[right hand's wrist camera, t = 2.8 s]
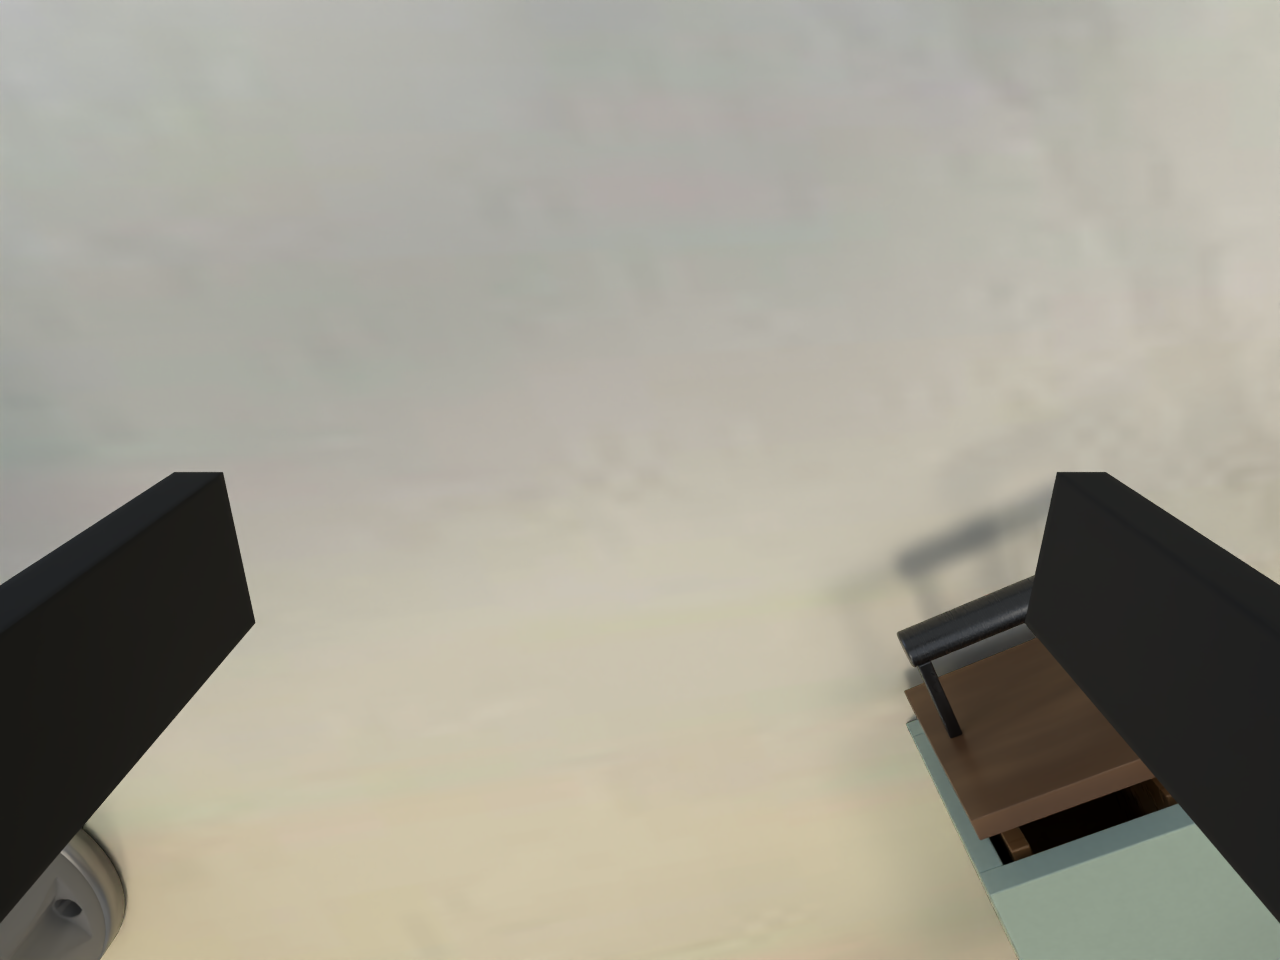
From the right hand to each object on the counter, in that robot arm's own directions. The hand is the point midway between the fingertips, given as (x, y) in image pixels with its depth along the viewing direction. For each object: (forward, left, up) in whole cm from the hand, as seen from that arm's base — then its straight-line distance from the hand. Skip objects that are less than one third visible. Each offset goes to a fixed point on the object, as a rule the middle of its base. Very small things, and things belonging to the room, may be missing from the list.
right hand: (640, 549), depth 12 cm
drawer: (-5, -28, -21) cm, 35 cm away
